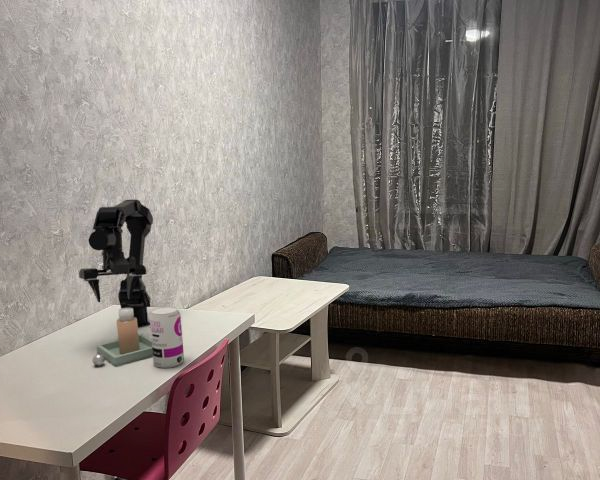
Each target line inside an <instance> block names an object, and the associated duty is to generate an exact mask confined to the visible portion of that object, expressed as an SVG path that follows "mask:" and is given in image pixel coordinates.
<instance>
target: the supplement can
mask: <svg viewBox="0 0 600 480" xmlns="http://www.w3.org/2000/svg"><path fill="white" fill-rule="evenodd" d="M149 322H150V324H149V326H150V336H151V337H150V339H152V350H153V357H152V359H153V364H154V365H155V366H156V367H157V368H160V369H161V368H162V369H169V368H175V367H178V366H179V365H182V363H183V362H184V360H185V356H184V355H185V354H184V341H183V329H182V328H183V327H182V326H183V325H182V316H181V312H180V310H179V308H177V307H176V306H161V307H157V308H156V307H155V308H154V309H152V310H151V313H150V315H149Z"/></svg>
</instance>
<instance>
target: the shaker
mask: <svg viewBox="0 0 600 480" xmlns="http://www.w3.org/2000/svg"><path fill="white" fill-rule="evenodd" d="M118 316H119V317H118V319H117V320H116V329H117V340H118V342H119V352H120V354H121V355H123V354H126V353H130V352H134V351H138V350H140V348H139V336H138V335H139V327H138V325H137V318H136V317H134V313H133V308H122V309H121V308H119V309H118Z"/></svg>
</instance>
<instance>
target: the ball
mask: <svg viewBox="0 0 600 480" xmlns="http://www.w3.org/2000/svg"><path fill="white" fill-rule="evenodd" d="M105 361H106V359H105V358H104V356H103V355H101V354H95V355H94V356H93V357H92V363H93V365H94V366H95V367H99V366H100V367H101V366H103V365H104V363H105Z"/></svg>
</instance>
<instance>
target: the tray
mask: <svg viewBox="0 0 600 480" xmlns="http://www.w3.org/2000/svg"><path fill="white" fill-rule="evenodd" d="M138 336H139V348H140V350H138V351H134V352H130V353H126V354H123V355H121V354H120V352H119V342H118V339H117V340H112V341H107V342H103V343H99V344H96V353H97V354H101V355H103V356H104V358H105V361H107V362H108V363H110V365H112V366H114V367H119V366H123V365H126V364H130V363H134V362H138V361H141V360H146V359H150V358H153V350H152V339H151V337H148V336H146V335H144V334H142V333H140V334H138ZM97 354H96V355H97Z"/></svg>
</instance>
